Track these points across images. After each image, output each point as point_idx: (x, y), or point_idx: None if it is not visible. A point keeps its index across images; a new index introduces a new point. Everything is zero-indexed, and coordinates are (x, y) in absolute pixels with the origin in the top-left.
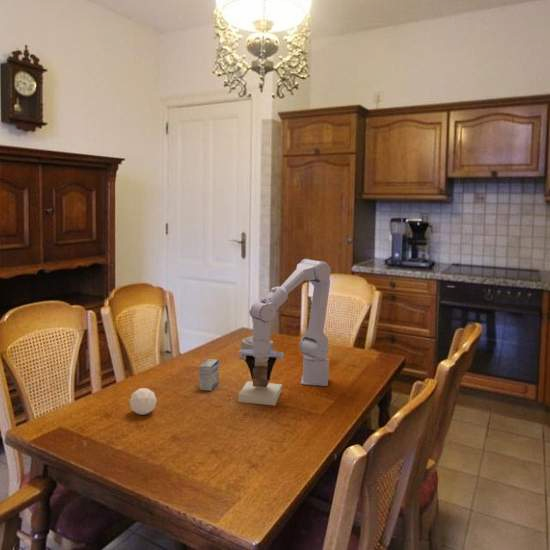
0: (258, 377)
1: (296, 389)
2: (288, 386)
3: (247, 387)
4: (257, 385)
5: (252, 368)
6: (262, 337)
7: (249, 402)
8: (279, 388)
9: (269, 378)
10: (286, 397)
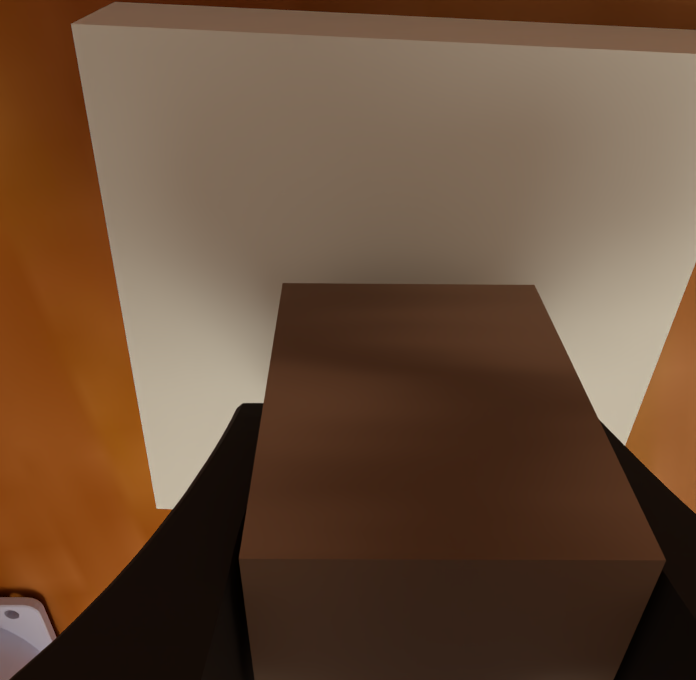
0: (456, 393)
1: (36, 502)
2: (142, 546)
3: (597, 352)
4: (451, 293)
5: (673, 577)
6: None
7: (531, 22)
8: (140, 397)
9: (228, 428)
10: (59, 302)
